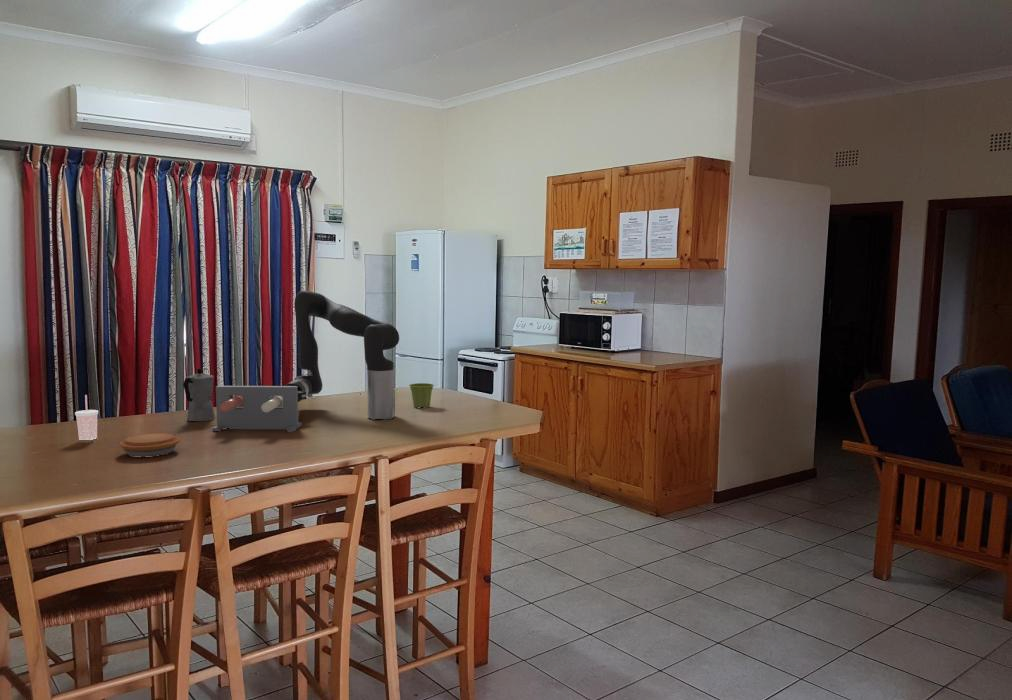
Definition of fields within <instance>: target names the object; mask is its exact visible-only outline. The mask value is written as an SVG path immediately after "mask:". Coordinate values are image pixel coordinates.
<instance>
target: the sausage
mask: <svg viewBox="0 0 1012 700" xmlns="http://www.w3.org/2000/svg"><path fill="white" fill-rule="evenodd" d="M233 408H243V395H233V398H232V399H231V400H228V401H226V402H224V403H222V404H221V405H220V410H221V411H222V412H227V411H229V410H231V409H233Z"/></svg>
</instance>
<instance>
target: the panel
mask: <svg viewBox="0 0 1012 700" xmlns="http://www.w3.org/2000/svg"><path fill="white" fill-rule="evenodd" d="M235 395H243V407H236V408H233V409H231V410H229V411H227V412H222V411H221V410H220V405H221V404H222V403H224V402H226V401H228V400H231V399H233V398H232V397H233V396H235ZM271 396H283V407H276V408H275V409H273V410H271V411H269V412H263V411H262V409H261V406H262V405H263V404H264V403H266V402H268V401H270V400H271ZM215 401H216V402H215V403H216V404H215V405H216V426H213V427H211V428H212V429H211V432H212V431H219V430H221V429H223V428H226V429H225V430H286V431H288V432H287V433H294V432H296V431H297V430H298V429H300V428H301V427H302V425H303V422H302V421H299V402H298V386H285V385H217V386H215ZM300 426H301V427H300ZM299 427H300V428H299ZM227 428H229V429H227ZM297 428H298V429H297ZM296 429H297V430H296ZM223 430H224V429H223ZM221 431H222V430H221ZM293 431H294V432H293ZM219 432H220V431H219Z"/></svg>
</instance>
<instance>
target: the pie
mask: <svg viewBox="0 0 1012 700" xmlns="http://www.w3.org/2000/svg"><path fill="white" fill-rule="evenodd" d="M180 441H181V438H180V437H179V436H177V435H174V434H173V433H164V432H162V433H161V432H160V433H159V432H154V433H143V434H137V435H132V436H129V437H126V438H125V439H124V440H121V441H120V442H119V446H120V447H121V448H122V449H123V450H124V452H125V454H126V455H127V454H128V455H131V456H141V457H145V456H157V455H163V454H167V453H170V452H171V453H173V451H174V449H175V448H176V446H177V445H178V444H179V443H180ZM171 453H170V454H171ZM167 455H168V454H167Z"/></svg>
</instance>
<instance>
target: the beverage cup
mask: <svg viewBox="0 0 1012 700" xmlns="http://www.w3.org/2000/svg"><path fill="white" fill-rule="evenodd" d="M84 398H85V399H84V402H85V410H83V409H82V410H76V411H75V412H74V416H76V417H75V418H76V425H77V431H78V432H77V433H78V441H79V440H93V439H96V438H97V439H98V414H99V410H97V409H88V395H87V394H85V395H84Z"/></svg>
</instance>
